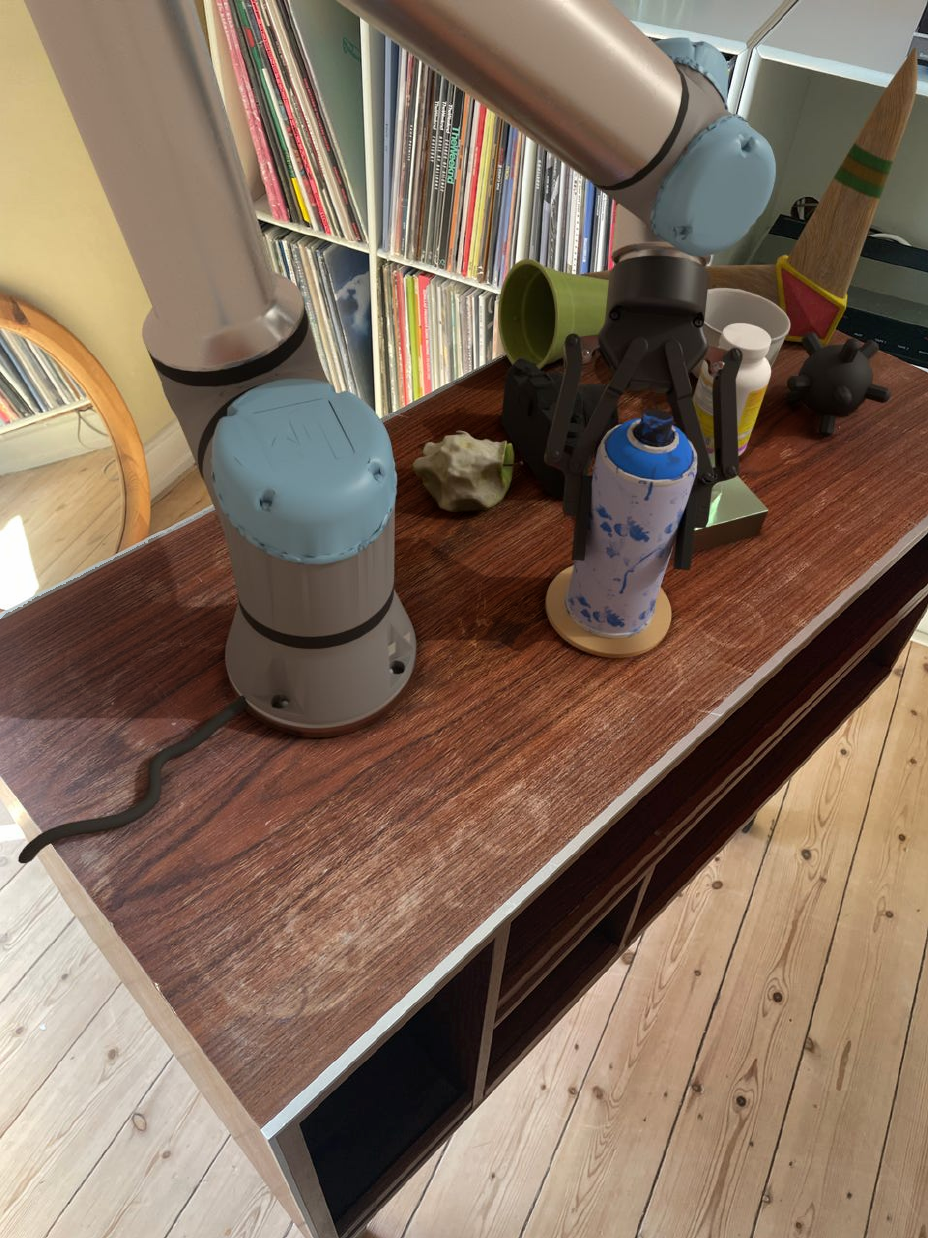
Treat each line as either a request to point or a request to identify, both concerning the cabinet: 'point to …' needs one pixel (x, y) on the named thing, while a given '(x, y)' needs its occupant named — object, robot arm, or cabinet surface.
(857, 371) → the toy ball
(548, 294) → the plant pot
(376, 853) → the cabinet surface
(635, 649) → the coaster
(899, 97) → the wooden v shape
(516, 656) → the cabinet surface
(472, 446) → the fruit
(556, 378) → the film camera
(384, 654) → the robot arm
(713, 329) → the teacup
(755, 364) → the supplement bottle
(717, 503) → the green knob plate
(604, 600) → the aerosol can
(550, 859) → the cabinet surface
